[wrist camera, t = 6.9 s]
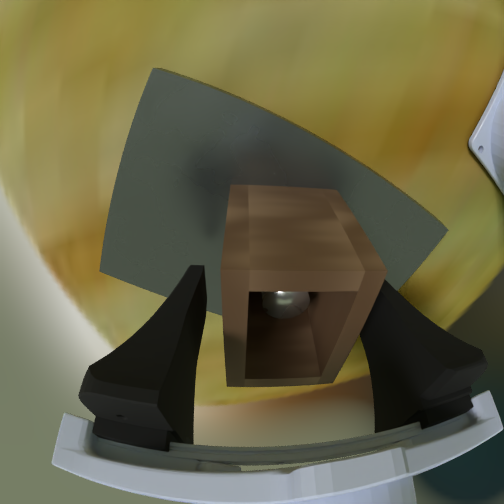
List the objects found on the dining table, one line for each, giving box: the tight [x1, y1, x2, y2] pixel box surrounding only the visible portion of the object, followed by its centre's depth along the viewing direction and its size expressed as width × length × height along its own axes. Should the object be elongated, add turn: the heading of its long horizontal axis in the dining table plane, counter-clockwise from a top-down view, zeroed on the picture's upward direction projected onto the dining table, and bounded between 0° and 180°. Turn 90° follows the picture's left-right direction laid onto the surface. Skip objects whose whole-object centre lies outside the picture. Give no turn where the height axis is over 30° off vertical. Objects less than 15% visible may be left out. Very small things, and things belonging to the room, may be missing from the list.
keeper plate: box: [100, 68, 448, 319], centre depth 14 cm, size 18×12×5 cm, turn 64°
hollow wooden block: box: [220, 185, 388, 387], centre depth 12 cm, size 5×7×6 cm
